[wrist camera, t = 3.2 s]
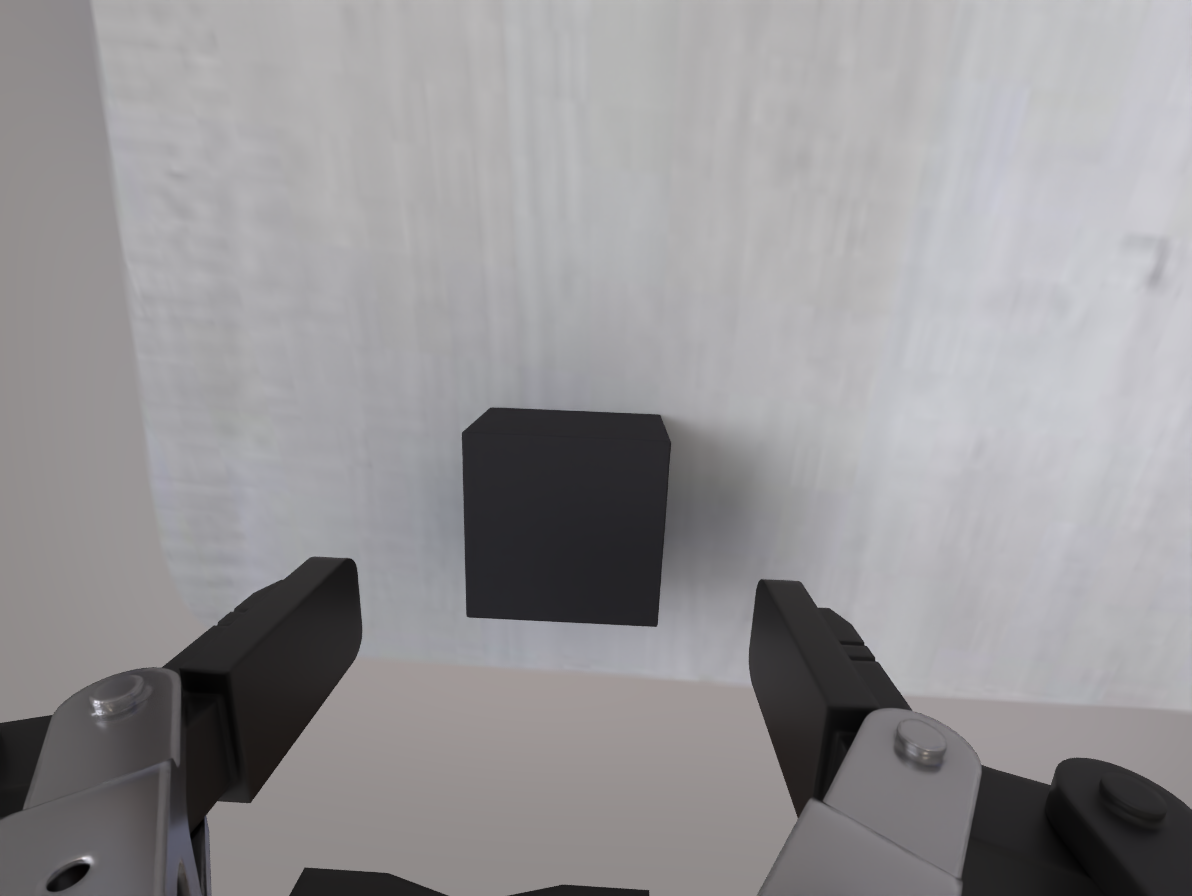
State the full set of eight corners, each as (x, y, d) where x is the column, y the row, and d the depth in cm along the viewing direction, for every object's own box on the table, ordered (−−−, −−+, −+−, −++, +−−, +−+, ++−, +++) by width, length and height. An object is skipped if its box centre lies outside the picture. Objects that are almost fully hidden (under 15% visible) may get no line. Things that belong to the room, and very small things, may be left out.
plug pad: (491, 563, 20) (466, 618, 16) (489, 407, 18) (461, 431, 15) (650, 570, 19) (657, 627, 16) (660, 414, 18) (671, 441, 15)
